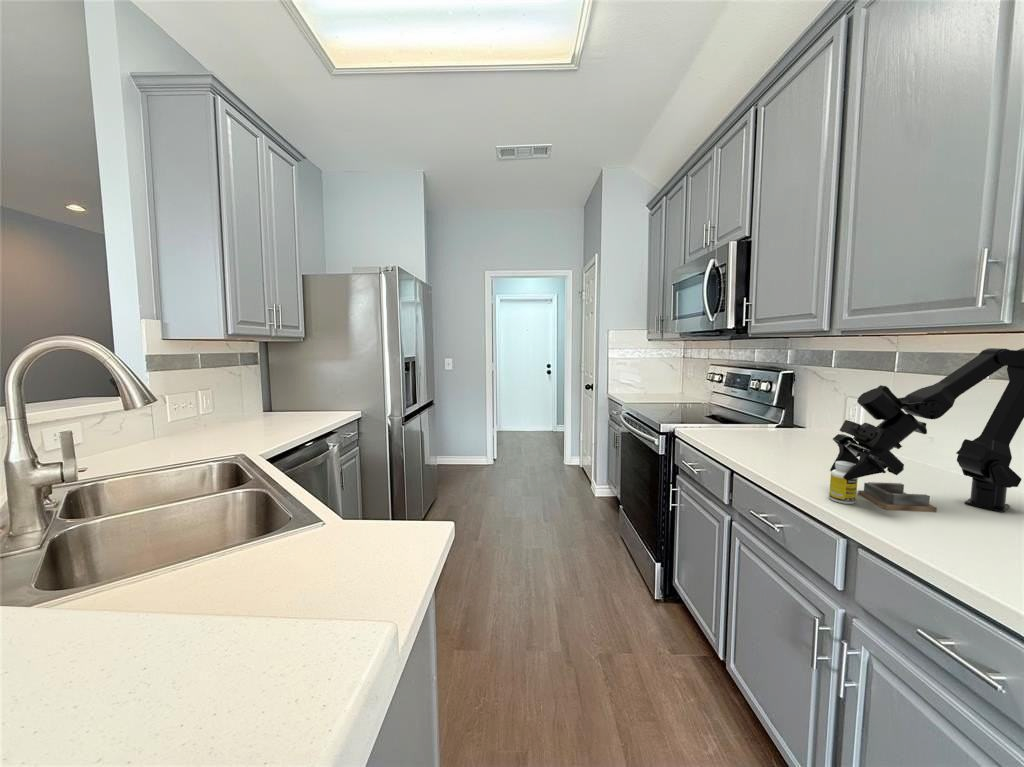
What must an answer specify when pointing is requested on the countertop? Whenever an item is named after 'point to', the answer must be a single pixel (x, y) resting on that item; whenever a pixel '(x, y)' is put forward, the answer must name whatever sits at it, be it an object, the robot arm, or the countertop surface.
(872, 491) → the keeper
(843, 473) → the supplement bottle
